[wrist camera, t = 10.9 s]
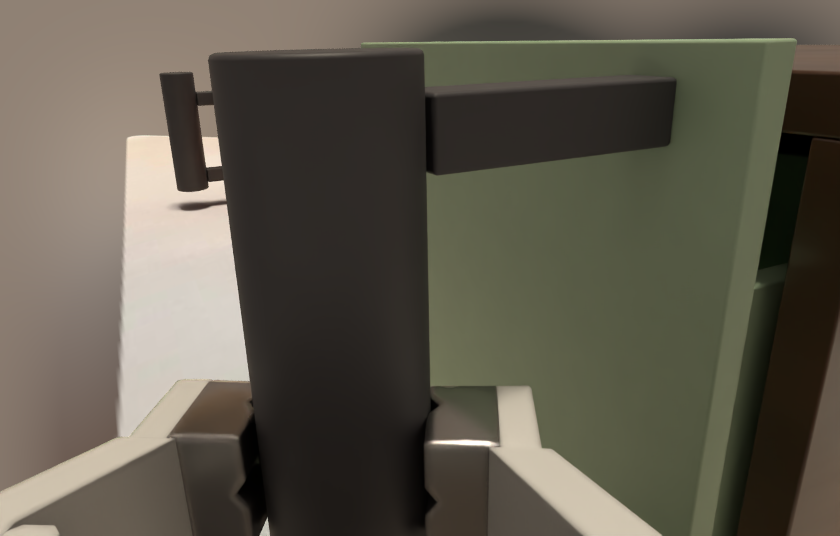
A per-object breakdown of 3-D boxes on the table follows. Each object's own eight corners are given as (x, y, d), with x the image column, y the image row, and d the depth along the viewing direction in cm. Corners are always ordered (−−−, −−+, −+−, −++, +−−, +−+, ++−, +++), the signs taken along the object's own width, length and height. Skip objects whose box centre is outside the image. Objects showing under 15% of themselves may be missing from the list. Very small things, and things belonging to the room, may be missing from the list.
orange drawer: (201, 231, 41) (179, 80, 38) (175, 191, 52) (157, 72, 49) (487, 190, 50) (489, 66, 47) (412, 163, 61) (409, 62, 58)
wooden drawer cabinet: (755, 683, 13) (893, 73, 9) (435, 379, 25) (430, 57, 21) (1100, 453, 20) (1270, 44, 15) (718, 300, 31) (757, 44, 27)
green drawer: (338, 894, 9) (246, 56, 5) (195, 419, 20) (133, 48, 17) (1058, 448, 18) (1223, 24, 14) (681, 292, 30) (714, 33, 26)
